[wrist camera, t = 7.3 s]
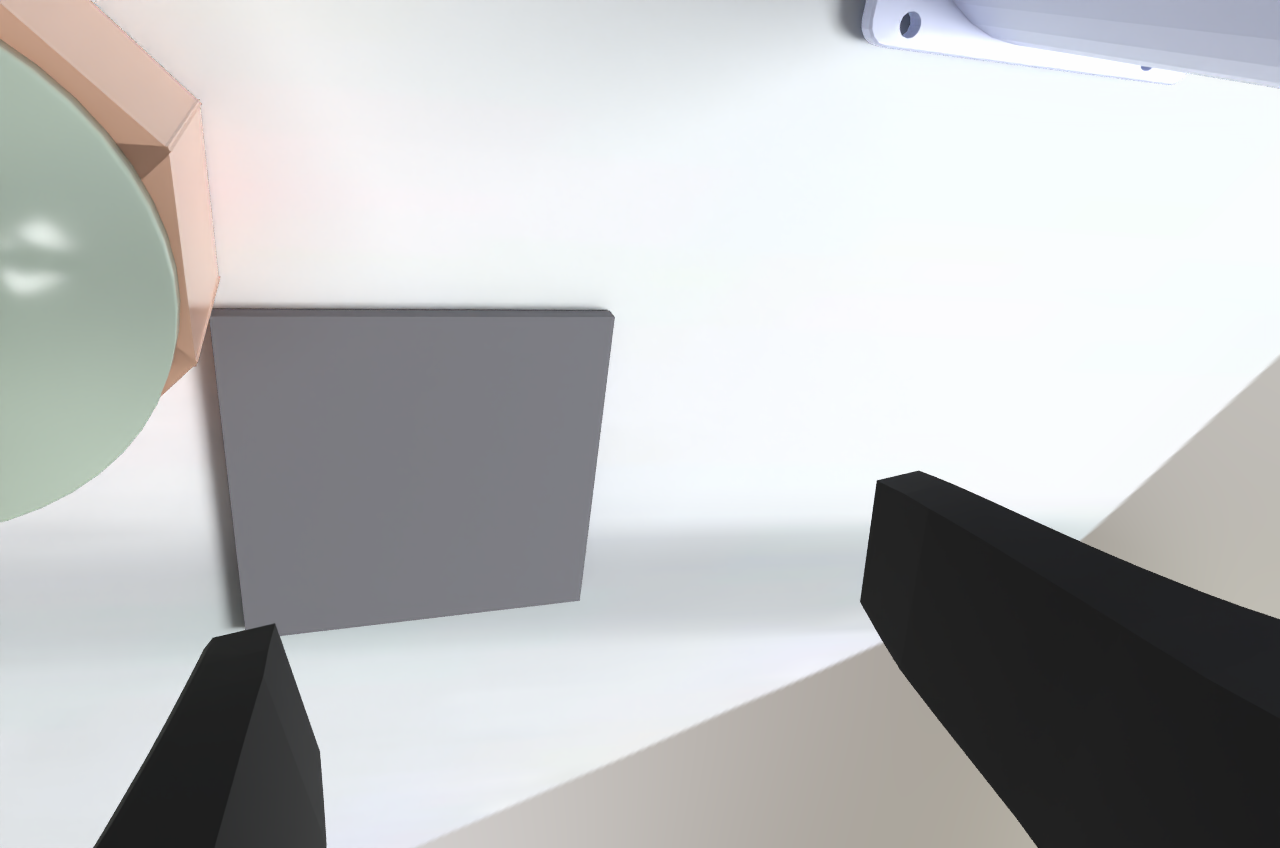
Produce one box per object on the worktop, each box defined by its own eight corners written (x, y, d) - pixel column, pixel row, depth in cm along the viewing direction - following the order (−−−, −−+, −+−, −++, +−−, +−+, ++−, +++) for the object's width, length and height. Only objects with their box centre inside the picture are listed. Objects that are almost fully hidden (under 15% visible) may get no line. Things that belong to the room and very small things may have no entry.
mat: (609, 310, 20) (614, 317, 19) (575, 591, 24) (579, 600, 23) (210, 309, 17) (209, 316, 17) (247, 628, 21) (246, 640, 20)
